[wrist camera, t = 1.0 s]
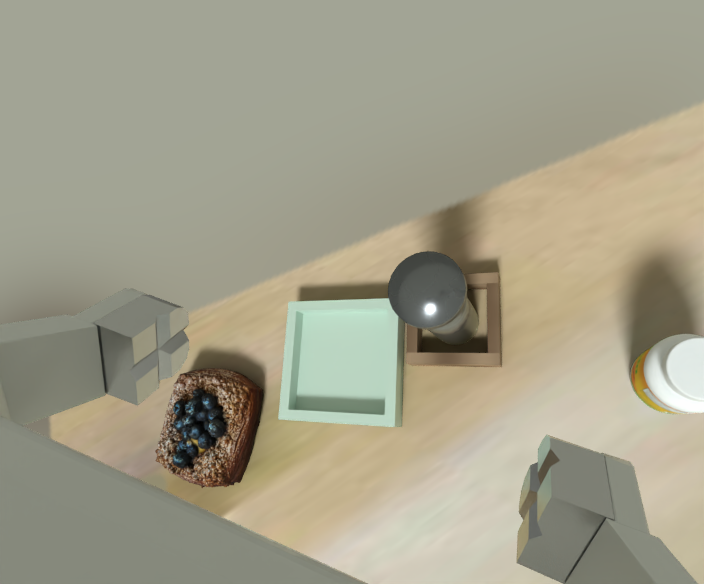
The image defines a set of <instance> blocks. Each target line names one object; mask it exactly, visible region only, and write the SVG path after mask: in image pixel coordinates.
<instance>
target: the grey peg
mask: <svg viewBox="0 0 704 584" xmlns="http://www.w3.org/2000/svg"><path fill="white" fill-rule="evenodd" d="M388 297H389V301H390V304H391V307H392V309H393V310H394V312H395V313H396V314H397V316H398V317H399V318H401V319H402V320H403V321H404V322H406V323H407V324H409V325H411V326H413V327H416V328H419V329H427V330H429V331H430V332H431V333H433V334H434V335H435V336H436V337H438V338H439V339H440V340H441V341H443V342H445V343H447V344H450V345H460V344H464V343H466V342H468V341H469V340H470V339H472V338H473V336H474V335H475V334H476V332H477V329H478V325H479V319H478V315H477V313H476V311H475V309H474V307H473V306H472V304H471V303H470V301H469V299H468V298H467V284H466V280H465V277H464V275H463V273H462V271H461V269H460V268H459V266H458V265H457V264H456V263H455V262H454V261H453V260H452V259H451V258H449V257H448V256H446V255H444V254H441V253H437V252H420V253H416V254H414V255H411V256H410V257H408V258H406V259H405V260H403V261H402V262H401V263H400V264H399V265H398V266H397V267H396V269H395V270H394V272H393V274H392V276H391V278H390V281H389V286H388Z"/></svg>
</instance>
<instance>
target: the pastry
mask: <svg viewBox="0 0 704 584" xmlns="http://www.w3.org/2000/svg"><path fill="white" fill-rule="evenodd" d="M262 391H263V389H261V388H260V387H258V386H257V385H256V384H254V383H253V382H252V381H251V380H249V379H248V378H247V377H246V376H244V375H242V374H239V373H237V372H234V371H231V370H226V369H215V368H208V369H198V370H194V371H190V372H187V373H183V374H180V376H179V377H178V379H177V382H176V383H175V384H174V390H173V392H172V395H171V398H170V400H169V405H168V408H167V412H166V416H165V421H164V425H163V430H162V432H161V436H160V437H161V438H160V439H161V440H160V441H158V446H159V447H158V449H157V450H156V454H157V459H156V461H157V462H159V463H161V464H162V465H164V468H167V469H168V470H169V472H170V473H171V474H175V475H176V476H178V477H180V478H182V479H183V480H186V481H188V482H189V483H194V484H197V485H201V487H202V488H203V487H205V486H206V487H216V486H224V487H227V486H229V485H234V483H235V482H238V483H240V482H241V480H242V477H243V474H244V472H245V470H246V467H247V464H248V462H249V458H250V455H251V451H252V447H253V443H254V437H255V434H256V430H257V427H258V426H259V423H260V421H259V415H260V410H261V401H262Z"/></svg>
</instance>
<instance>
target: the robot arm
mask: <svg viewBox="0 0 704 584" xmlns="http://www.w3.org/2000/svg"><path fill="white" fill-rule="evenodd" d="M188 325H189V319H188V312H187V311H186V310H185V309H184V308H183V307H181V306H178V305H176V304H173V303H170V302H168V301H165V300H162V299H160V298H157V297H154V296H152V295H147V294H145V293H143V292H140V291H137V290H135V289H123V290H121V291H119V292H117V293H115V294H114V295H112V296H110V297H108V298H106V299H104V300H102V301H101V302H99V303H97V304H95V305H93V306H91V307H89V308H87V309H86V310H84V311H82V312H80V313H78V314H76V315H74V316H70V315H61V316H54V317H47V318H41V319H34V320H28V321H21V322H16V323H8V324H2V325H0V584H367V583H365V582H363V581H361V580H359V579H356V578H354V577H352V576H350V575H348V574H345V573H343V572H341V571H339V570H337V569H335V568H332V567H330V566H328V565H326V564H324V563H321V562H319V561H317V560H315V559H313V558H310V557H308V556H306V555H304V554H302V553H300V552H297V551H295V550H293V549H291V548H289V547H286V546H284V545H282V544H280V543H278V542H276V541H273V540H271V539H269V538H267V537H265V536H262V535H260V534H258V533H256V532H254V531H251V530H249V529H247V528H245V527H243V526H241V525H238V524H236V523H234V522H232V521H230V520H227V519H225V518H223V517H221V516H219V515H217V514H214V513H212V512H210V511H208V510H206V509H203V508H201V507H199V506H197V505H195V504H192V503H190V502H188V501H186V500H184V499H182V498H179V497H177V496H175V495H173V494H171V493H168V492H166V491H164V490H162V489H160V488H157V487H155V486H153V485H151V484H149V483H147V482H144V481H142V480H140V479H138V478H136V477H133V476H131V475H129V474H127V473H125V472H123V471H120V470H118V469H116V468H114V467H112V466H109V465H107V464H105V463H103V462H101V461H98V460H96V459H94V458H92V457H90V456H88V455H85V454H83V453H81V452H79V451H77V450H74V449H72V448H70V447H68V446H66V445H63V444H61V443H59V442H57V441H55V440H53V439H50V438H48V437H46V436H44V435H41V434H39V433H37V432H35V431H33V430H31V429H28V428H26V427H24V425H27V424H29V423H32V422H35V421H37V420H40V419H43V418H45V417H48V416H51V415H54V414H56V413H59V412H62V411H64V410H67V409H70V408H72V407H75V406H78V405H81V404H83V403H86V402H89V401H91V400H94V399H97V398H100V397H102V396H105V395H106V394H109V395H111V396H114V397H117V398H119V399H122V400H124V401H127V402H130V403H132V404H135V405H139V404H140V403H142V402H143V401H144V400H145V399H146V398H147V397H149V396H150V395H151V394H152V393H153V392H155V391H156V390H157V389H158V388H159V380H162V379H166V378H169V377H172V376H173V375H174V374H176V373H177V372H178V371H179V370H180V369H181V367H182V365H183V364H184V362H185V360H186V359H187V355H188V351H189V339H188V338H187V336H186V334H185V332H184V329H185V328H186V327H187V326H188ZM105 393H106V394H105ZM519 513H520V515H521V517H522V518H523V522H522V524H521V526H520V528H519V531H518V540H517V563H518V564H520V565H523V566H525V567H527V568H529V569H532V570H534V571H536V572H538V573H541V574H543V575H545V576H547V577H550V578H552V579H554V580H556V581H559V582H561V583H563V584H697V582H696V581H695V580H694V579H693V578H692V576H691V575H690V574H689V573H688V572H687V571H686V569H685V568H684V567H683V566H682V565H681V564H680V562H679V561H678V560H677V559H676V558H675V556H674V555H673V554H672V553H671V552H670V551H669V549H668V548H667V547H666V546H665V545H664V543H663V542H662V541H661V540H660V539H659V538H658V537H655V536H652V535H650V533H649V529H648V524H647V520H646V516H645V512H644V508H643V503H642V499H641V495H640V491H639V487H638V482H637V478H636V474H635V470H634V466H633V465H632V464H631V462H629V461H626V460H623V459H620V458H617V457H614V456H611V455H608V454H604V453H599V452H596V451H593V450H590V449H587V448H584V447H581V446H578V445H575V444H573V443H570V442H567V441H564V440H561V439H558V438H555V437H552V436H549V435H546V436H545V438H544V439H543V440H542V442H541V444H540V446H539V448H538V462H537V463H535V464H532V465H530V468H529V470H528V472H527V475H526V477H525V480H524V483H523V487H522V490H521V496H520V503H519Z"/></svg>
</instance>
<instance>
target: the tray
mask: <svg viewBox="0 0 704 584" xmlns="http://www.w3.org/2000/svg"><path fill="white" fill-rule="evenodd" d="M404 329H405V322H404V321H403V320H402V319H401V318H399V317H398V316H397V314H396V313H395V312H394V310H393V309H392V307H391V304H390V301H389V298H383V299H354V300H325V301H296V302H289V304H288V315H287V327H286V338H285V349H284V361H283V372H282V384H281V395H280V406H279V418H278V419H281V420H296V421H311V422H326V423H341V424H356V425H372V426H387V427H402V401H403V365H404Z"/></svg>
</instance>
